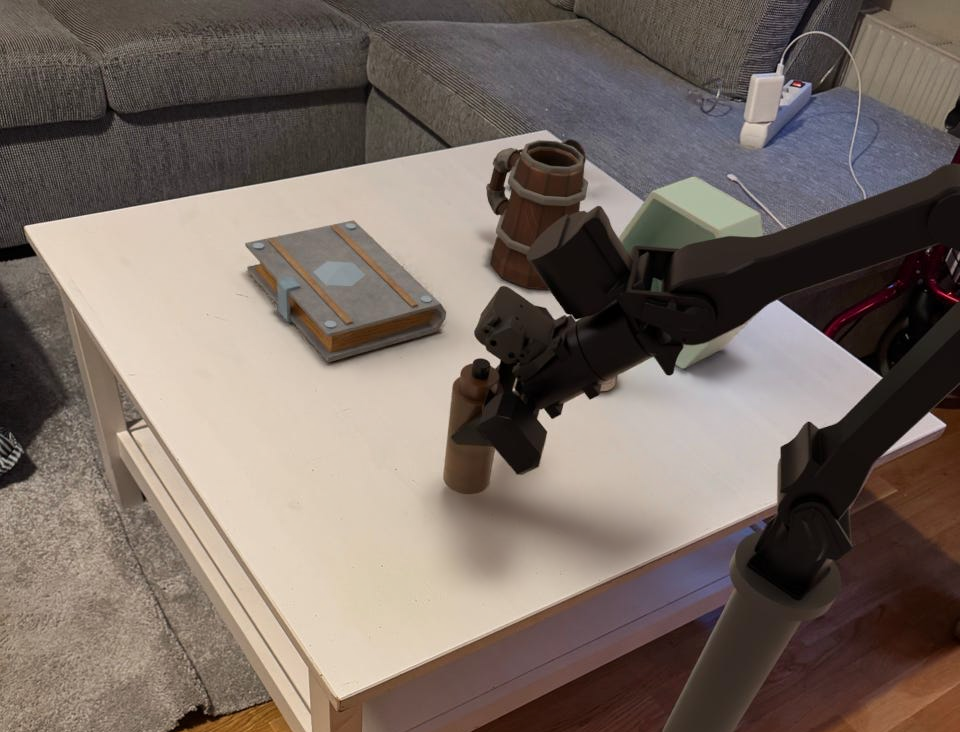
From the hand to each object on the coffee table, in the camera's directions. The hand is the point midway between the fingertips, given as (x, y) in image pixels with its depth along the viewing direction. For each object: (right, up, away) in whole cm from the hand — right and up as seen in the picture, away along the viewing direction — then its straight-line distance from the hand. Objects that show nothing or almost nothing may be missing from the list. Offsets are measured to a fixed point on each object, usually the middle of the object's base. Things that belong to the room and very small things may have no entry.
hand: (459, 423), depth 88 cm
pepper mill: (+1, -4, +5) cm, 7 cm away
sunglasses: (+12, +50, +53) cm, 74 cm away
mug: (+8, +31, +38) cm, 50 cm away
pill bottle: (+16, +10, +22) cm, 29 cm away
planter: (+26, +18, +30) cm, 44 cm away
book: (-15, +21, +26) cm, 37 cm away
